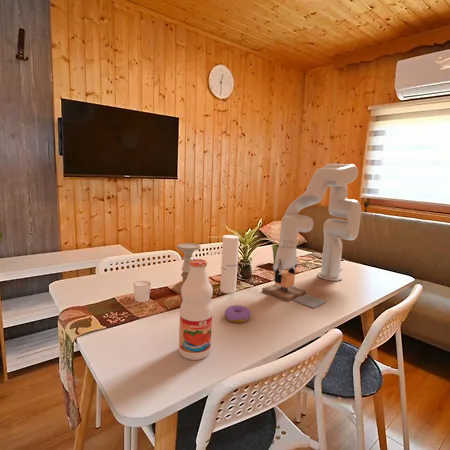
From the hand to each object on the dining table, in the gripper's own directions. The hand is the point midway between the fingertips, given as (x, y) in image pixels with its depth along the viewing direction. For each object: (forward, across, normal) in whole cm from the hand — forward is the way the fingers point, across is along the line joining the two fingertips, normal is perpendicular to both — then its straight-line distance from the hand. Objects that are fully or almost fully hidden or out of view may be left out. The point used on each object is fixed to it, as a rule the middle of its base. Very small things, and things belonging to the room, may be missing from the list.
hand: (284, 280), depth 144 cm
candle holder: (+7, +32, -29) cm, 44 cm away
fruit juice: (+7, +60, +13) cm, 62 cm away
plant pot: (+6, -36, -29) cm, 46 cm away
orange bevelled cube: (+2, 0, 0) cm, 2 cm away
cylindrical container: (+6, +18, -17) cm, 26 cm away
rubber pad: (+6, -2, +13) cm, 14 cm away
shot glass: (+7, +54, -30) cm, 63 cm away
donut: (+7, +34, +5) cm, 36 cm away
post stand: (+6, 0, 0) cm, 6 cm away
